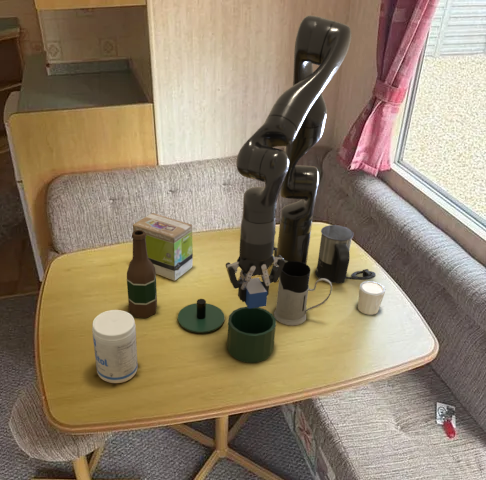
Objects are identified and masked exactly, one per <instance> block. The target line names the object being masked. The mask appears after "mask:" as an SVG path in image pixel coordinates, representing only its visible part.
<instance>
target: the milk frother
mask: <svg viewBox="0 0 486 480" xmlns="http://www.w3.org/2000/svg"><path fill="white" fill-rule="evenodd" d="M320 233H321V237H320V244H319V251H318V258H317V266H316V269H315V273H314V274H315V276H316V278H317V279H321V278H324V279H327V280H329V281H330V282H331V284H344V283H345V282H346V280H353V281H355V280H356V281H368V280H371V279H374V278H376V274H377V273H376V272H374V271H372V270H369V269H368V268H364V269H362V270H357V271H354V272H352V273H351V275H350V276H347V275H348V274H347V273H348V270H349V269H348V268H349V266H350V265H349V264H350V252H351V251H350V250H351V244H352V239H353V237H354V231H353V230H351V229H350V228H349V227H346V226H343V225H339V224H330V225H325V226H323V227H322V228H321V229H320ZM361 274H362V276H358V275H361ZM321 281H322V282H325V283H327V282H326V281H324V280H321Z"/></svg>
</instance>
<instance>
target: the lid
mask: <svg viewBox="0 0 486 480" xmlns="http://www.w3.org/2000/svg"><path fill="white" fill-rule="evenodd" d="M225 318H226V317H225V313H224V312H223V310H222V309H221V308H219V307H218V306H217V305H214V304H211V303H207V300H206V299H204V298H198V299H197V300H196V302H195V303H190V304H187V305H185V306H184V307H183V308H181V309H180V310H179V311H178V313H177V322H178V324H179V325H180V326H181V327H182V328H183V329H184V330H186V331H188V332H192V333H195V334H196V333H197V334H205V333H211V332H214V331H217V330H218V329H220V328H221V327H222V326H223V324H224V322H225Z"/></svg>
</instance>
